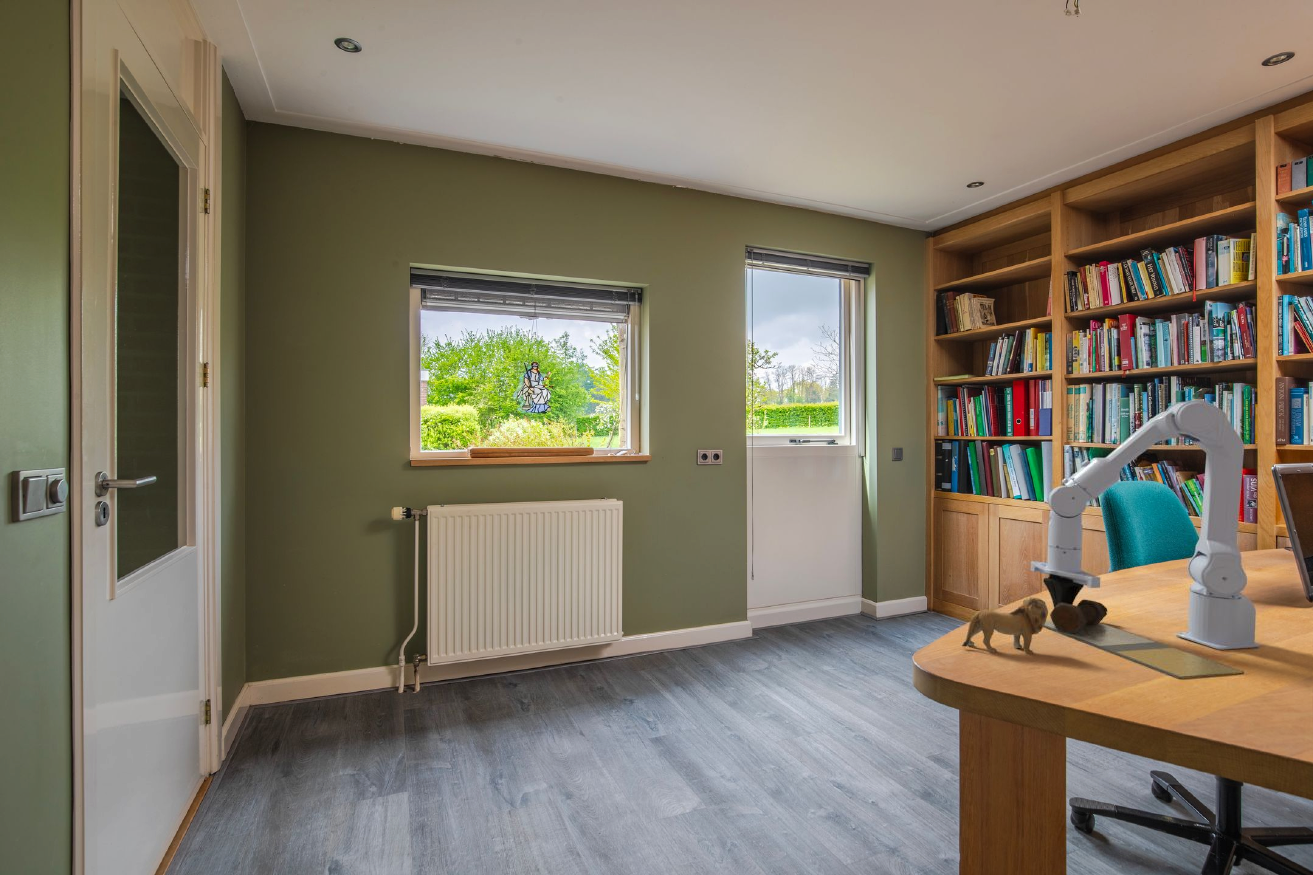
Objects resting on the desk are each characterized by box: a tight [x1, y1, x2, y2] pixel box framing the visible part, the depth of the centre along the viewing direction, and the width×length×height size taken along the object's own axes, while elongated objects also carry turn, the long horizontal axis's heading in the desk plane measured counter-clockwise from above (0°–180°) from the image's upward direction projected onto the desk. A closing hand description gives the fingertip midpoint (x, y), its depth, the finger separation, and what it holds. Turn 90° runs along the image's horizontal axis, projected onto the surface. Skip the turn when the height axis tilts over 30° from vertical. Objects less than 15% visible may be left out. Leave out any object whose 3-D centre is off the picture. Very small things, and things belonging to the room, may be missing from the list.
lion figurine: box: [961, 596, 1049, 655], centre depth 112 cm, size 15×5×9 cm, turn 94°
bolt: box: [1049, 598, 1108, 634], centre depth 125 cm, size 6×5×15 cm
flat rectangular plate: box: [1043, 620, 1245, 680], centre depth 115 cm, size 13×28×1 cm, turn 13°
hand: (1062, 615), depth 129 cm, fingers closed
